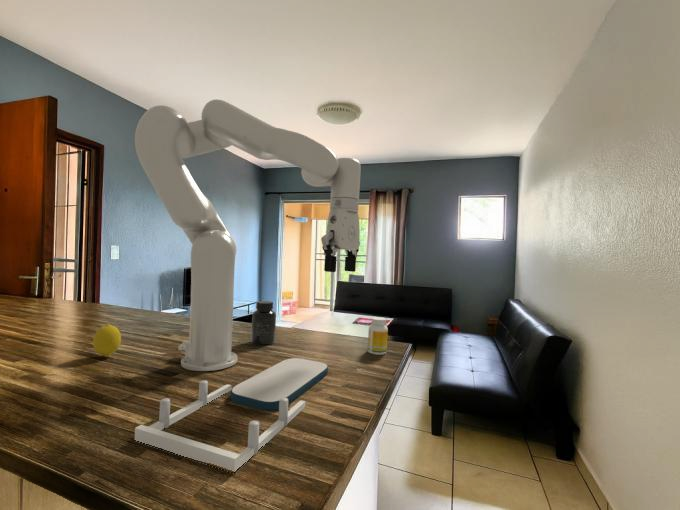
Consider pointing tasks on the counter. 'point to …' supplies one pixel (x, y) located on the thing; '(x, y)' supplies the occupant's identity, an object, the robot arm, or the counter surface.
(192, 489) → the counter surface
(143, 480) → the counter surface
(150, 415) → the counter surface
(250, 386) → the white blue rounded slab
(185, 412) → the dock
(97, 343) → the lemon
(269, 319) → the supplement bottle
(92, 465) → the counter surface
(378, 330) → the supplement bottle
